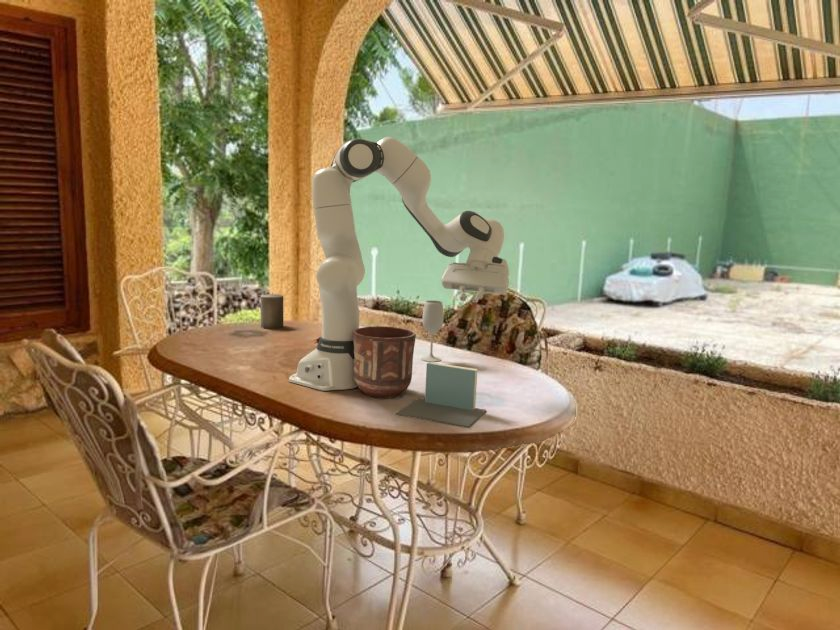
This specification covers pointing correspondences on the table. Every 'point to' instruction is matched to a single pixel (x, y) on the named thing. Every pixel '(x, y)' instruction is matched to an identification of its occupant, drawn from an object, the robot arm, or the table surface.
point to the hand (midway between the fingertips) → (468, 300)
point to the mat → (441, 413)
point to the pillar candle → (272, 311)
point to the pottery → (383, 360)
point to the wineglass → (432, 323)
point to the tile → (451, 385)
